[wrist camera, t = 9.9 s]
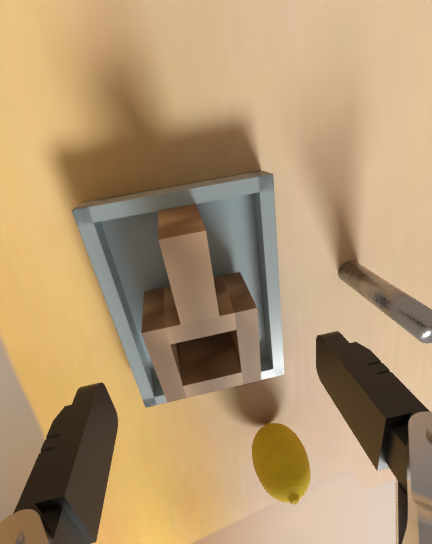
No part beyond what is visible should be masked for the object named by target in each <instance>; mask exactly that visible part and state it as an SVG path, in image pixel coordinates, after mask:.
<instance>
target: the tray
mask: <svg viewBox="0 0 432 544" xmlns="http://www.w3.org/2000/svg"><path fill="white" fill-rule="evenodd" d="M195 203H196V205H197V208H198V210H199V213H200V216H201V219H202V221H203V224H204V227H205V230H206V234H207V241H208V247H209V253H210V260H211V266H212V272H213V277H217V276H222V275H227V274H231V273H236V272H240V273H241V275H242V277H243V279H244V281H245V283H246V285H247V287H248V290H249V292H250V294H251V296H252V298H253V300H254V302H255V304H256V306H257V312H258V330H259V347H260V364H261V380H263V379H267V378H272V377H276V376H280V375H284V359H283V341H282V323H281V305H280V287H279V269H278V252H277V234H276V216H275V198H274V180H273V174H271V173H268V172H264V171H257V172H252V173H246V174H240V175H235V176H229V177H223V178H218V179H212V180H207V181H201V182H195V183H190V184H184V185H178V186H173V187H167V188H162V189H156V190H150V191H145V192H139V193H133V194H128V195H122V196H117V197H111V198H105V199H100V200H94V201H88V202H83V203H81V204H80V205H78V206H77V207H75V208H74V209H73V210H72V213H73V215H74V218H75V221H76V223H77V226H78V229H79V231H80V234H81V237H82V239H83V242H84V245H85V247H86V250H87V253H88V255H89V258H90V261H91V263H92V266H93V269H94V271H95V274H96V277H97V279H98V282H99V285H100V287H101V290H102V293H103V295H104V298H105V301H106V303H107V306H108V309H109V311H110V314H111V317H112V319H113V322H114V325H115V327H116V330H117V332H118V335H119V338H120V340H121V343H122V346H123V348H124V351H125V354H126V356H127V359H128V362H129V364H130V367H131V370H132V372H133V375H134V378H135V380H136V383H137V386H138V388H139V391H140V394H141V396H142V399H143V402H144V404H145V407H151V406H155V405H159V404H163V403H167V400H166V397H165V395H164V392H163V389H162V387H161V384H160V381H159V379H158V376H157V374H156V371H155V368H154V366H153V363H152V360H151V358H150V355H149V352H148V350H147V347H146V344H145V342H144V339H143V337H142V334H141V330H142V315H143V300H144V291H149V290H153V289H158V288H163V287H168V286H170V282H169V278H168V274H167V271H166V267H165V263H164V259H163V255H162V252H161V248H160V244H159V240H158V210H162V209H168V208H173V207H179V206H184V205H190V204H195Z"/></svg>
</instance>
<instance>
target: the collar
mask: <svg viewBox="0 0 432 544" xmlns="http://www.w3.org/2000/svg"><path fill="white" fill-rule="evenodd" d="M158 240H159V244H160V248H161V252H162V255H163V259H164V263H165V267H166V271H167V274H168V278H169V282H170V286H168V287H163V288H158V289H153V290H149V291H144V300H143V315H142V330H141V334H142V337H143V339H144V342H145V344H146V347H147V350H148V352H149V355H150V358H151V360H152V363H153V366H154V368H155V371H156V374H157V376H158V379H159V381H160V384H161V387H162V389H163V392H164V395H165V397H166V400H167V403H168V402H172V401H176V400H180V399H185V398H189V397H193V396H197V395H201V394H206V393H210V392H214V391H218V390H222V389H226V388H231V387H235V386H239V385H243V384H247V383H252V382H256V381H260V380H261V364H260V347H259V330H258V312H257V306H256V304H255V302H254V300H253V298H252V296H251V294H250V292H249V290H248V287H247V285H246V283H245V281H244V279H243V277H242V275H241V273H240V272H236V273H231V274H227V275H222V276H217V277H213V272H212V266H211V260H210V253H209V247H208V241H207V234H206V230H205V227H204V224H203V221H202V219H201V216H200V213H199V210H198V208H197V205H196V203H195V204H190V205H184V206H179V207H173V208H168V209H162V210H158Z"/></svg>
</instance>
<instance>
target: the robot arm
mask: <svg viewBox="0 0 432 544" xmlns="http://www.w3.org/2000/svg"><path fill="white" fill-rule="evenodd" d="M316 368H317V373H318V376H319V378H320V381H321V383H322V384H323V386H324V387H325V389H326V391H327V392H328V394H329V395H330V397H331V398H332V400H333V402H334V403H335V405H336V406H337V408H338V410H339V411H340V413H341V414H342V416H343V417H344V419H345V421H346V422H347V424H348V425H349V427H350V429H351V430H352V432H353V433H354V435H355V437H356V438H357V440H358V441H359V443H360V444H361V446H362V448H363V449H364V451H365V452H366V454H367V456H368V457H369V459H370V460H371V462H372V463H373V465H374V467H375V468H376V470H377V471H380V470H384V469H388V468H390V469H391V471H392V472H393V474H394V475H395V477H396V544H432V412H430V411H429V410H428V409H427V408H426V407H425V406H424V405H423V404H422V403H421V402H420V401H419V400H418V399H417V398H416V397H415V396H414V395H413V394H412V393H411V392H410V391H409V390H408V389H407V388H406V387H405V386H404V385H403V384H402V382H401V381H400V380H399V379H398V378H397V377H396V376H395V375H394V374H393V373H392V372H390V371H389V369H388V368H387V367H386V366H385V365H384V364H383V363H381V361H380V360H379V359H378V358H377V357H376V356H375V355H374V354H373V353H372V351H371V350H369V349H367V348H366V347H364V346H362V345H360V344H359V343H357V342H353V343H349V342H348V341H347V340H346V339H345V338H344V337H343V335H342V334H341V333H339V332H338V331H336V332H332V333H327V334H322V335H318V336H317V338H316ZM117 429H118V418H117V413H116V410H115V407H114V405H113V403H112V401H111V398H110V396H109V394H108V392H107V389H106V387H105V385H104V384H103V383H97V384H93V385H88V386H84V387H80V388H79V389H78V390H77V393H76V395H75V398H74V400H73V403H72V405H69V406H65V407H64V408H63V409H62V411H61V412H60V413H59V414H58V416H57V417H56V418H55V419H54V421H53V422H52V425H51V427H50V429H49V432H48V434H47V436H46V437H47V439H46V440H45V441H44V444H43V446H42V448H41V453H40V454H39V455H38V458H37V460H36V462H35V465H34V467H33V469H32V472H31V474H30V476H29V479H28V481H27V483H26V486H25V488H24V490H23V493H22V495H21V497H20V500H19V502H18V504H17V507H16V509H15V511H14V513H13V514H12V515H10V516H8V517H7V518H6V519H4V520H3V521H2V522H1V523H0V544H91V543H94V542H96V540H97V534H98V529H99V524H100V519H101V513H102V508H103V503H104V497H105V492H106V487H107V482H108V476H109V471H110V466H111V461H112V455H113V450H114V445H115V440H116V434H117Z"/></svg>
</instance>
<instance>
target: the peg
mask: <svg viewBox="0 0 432 544" xmlns="http://www.w3.org/2000/svg"><path fill="white" fill-rule="evenodd" d="M339 277H340V279H341V280H343V281H344V282H345V283H346V284H348V285H349V286H350V287H352V288H353V289H354V290H355V291H357V292H358V293H359V294H361V295H362V296H363V297H364V298H366V299H367V300H368V301H370V302H371V303H372V304H373V305H375V306H376V307H377V308H378V309H380V310H381V311H382V312H384V313H385V314H386V315H387V316H389V317H390V318H391V319H393V320H394V321H395V322H396V323H398V324H399V325H400V326H401V327H403V328H404V329H405V330H407V331H408V332H409V333H410V334H412V335H413V336H414V337H416V338H417V339H418V340H419V341H421V342H422V343H431V342H432V310H431V309H430V308H428V307H427V306H425V305H423V304H422V303H420V302H419V301H417V300H416V299H414V298H412V297H411V296H409V295H408V294H406V293H404V292H403V291H401V290H400V289H398V288H396V287H395V286H393V285H392V284H390V283H389V282H387V281H385V280H384V279H382V278H381V277H379V276H377V275H376V274H374V273H373V272H371V271H369V270H368V269H366V268H365V267H363V266H362V265H360V264H358V263H357V262H355V261H349V262H347V263H345V264H344V265H343V266H342V267H341V268H340V270H339Z"/></svg>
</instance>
